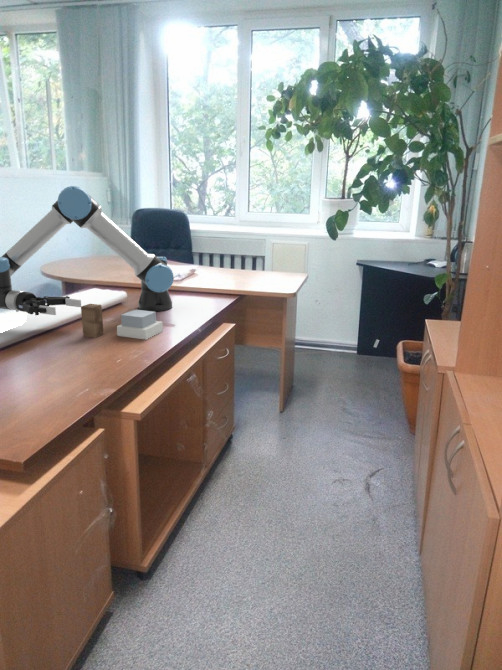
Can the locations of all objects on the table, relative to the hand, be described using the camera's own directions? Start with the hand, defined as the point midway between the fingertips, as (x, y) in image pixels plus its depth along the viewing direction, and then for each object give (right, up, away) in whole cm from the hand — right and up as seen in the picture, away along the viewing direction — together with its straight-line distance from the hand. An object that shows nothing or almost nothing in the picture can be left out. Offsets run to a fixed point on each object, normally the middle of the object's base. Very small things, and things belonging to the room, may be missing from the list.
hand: (68, 307), depth 174 cm
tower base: (+26, -10, +4) cm, 28 cm away
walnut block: (+9, -10, 0) cm, 14 cm away
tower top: (+25, -6, +3) cm, 26 cm away
